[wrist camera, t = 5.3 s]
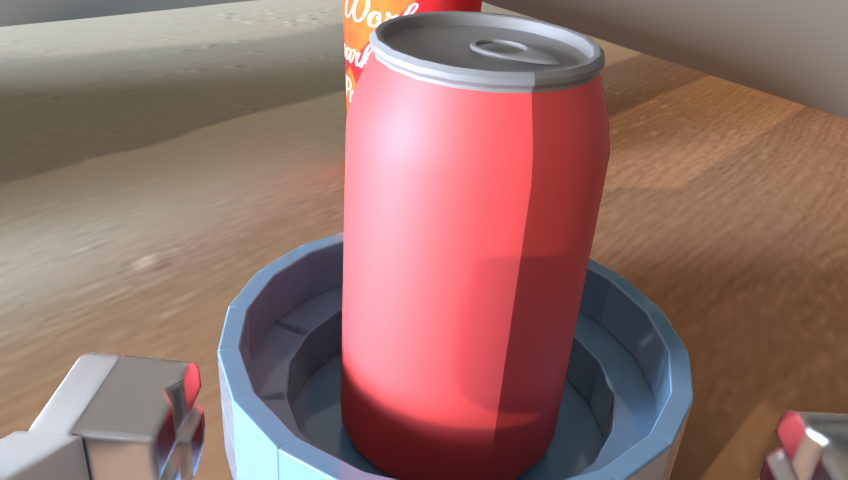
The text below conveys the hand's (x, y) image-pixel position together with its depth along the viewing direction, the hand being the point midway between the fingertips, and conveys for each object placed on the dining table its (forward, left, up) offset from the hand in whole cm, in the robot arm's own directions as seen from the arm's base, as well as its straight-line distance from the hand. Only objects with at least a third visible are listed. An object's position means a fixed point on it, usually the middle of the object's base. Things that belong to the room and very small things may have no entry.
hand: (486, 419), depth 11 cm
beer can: (-9, +4, -9) cm, 14 cm away
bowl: (-9, +4, -10) cm, 14 cm away
